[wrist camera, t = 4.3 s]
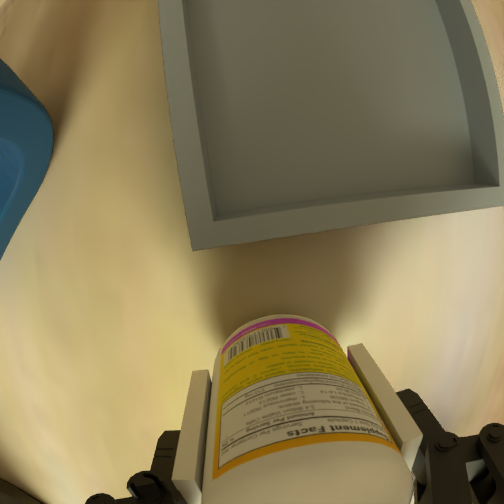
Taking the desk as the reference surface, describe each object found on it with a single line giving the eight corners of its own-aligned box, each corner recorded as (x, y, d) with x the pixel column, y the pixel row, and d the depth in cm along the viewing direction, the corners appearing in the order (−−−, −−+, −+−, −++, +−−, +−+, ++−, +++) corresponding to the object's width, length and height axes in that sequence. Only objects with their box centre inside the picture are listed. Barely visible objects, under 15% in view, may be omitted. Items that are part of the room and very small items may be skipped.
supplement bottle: (306, 420, 17) (356, 614, 5) (199, 394, 16) (170, 619, 4) (361, 328, 16) (500, 533, 3) (240, 289, 15) (252, 591, 2)
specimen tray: (201, 236, 15) (192, 250, 12) (165, -38, 11) (154, -67, 8) (478, 198, 15) (511, 204, 12) (423, -35, 11) (443, -55, 8)
